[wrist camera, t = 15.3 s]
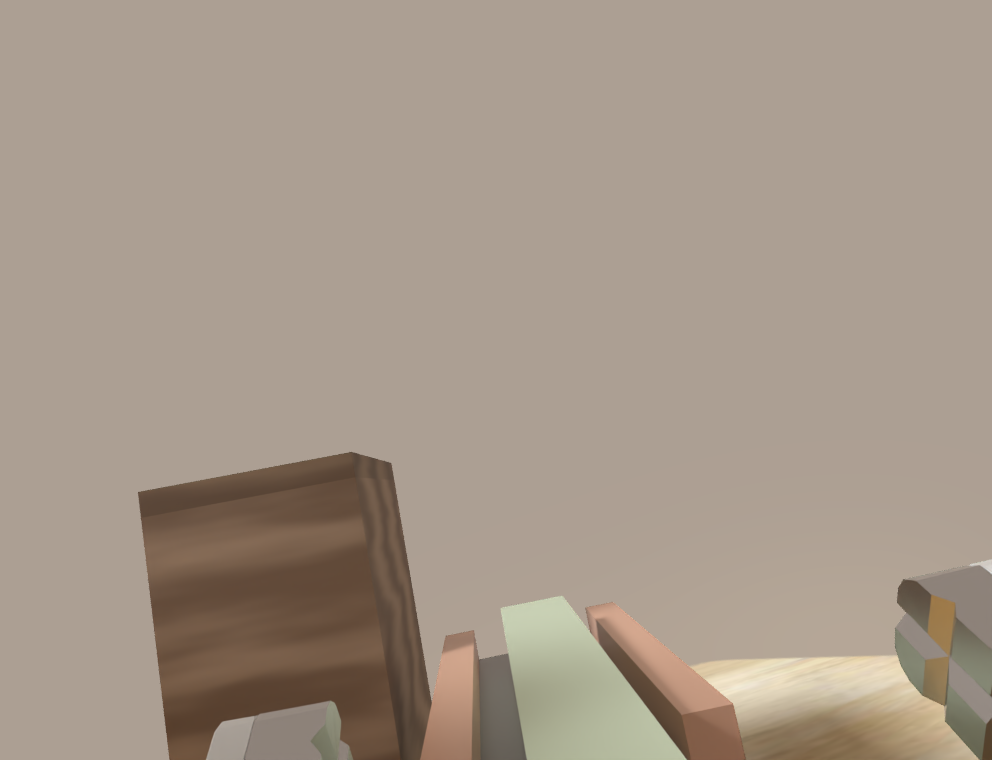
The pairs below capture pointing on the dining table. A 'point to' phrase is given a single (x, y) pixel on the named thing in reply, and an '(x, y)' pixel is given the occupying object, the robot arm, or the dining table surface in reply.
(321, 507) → the walnut stand
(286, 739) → the robot arm
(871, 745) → the dining table surface
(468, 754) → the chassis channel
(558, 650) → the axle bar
